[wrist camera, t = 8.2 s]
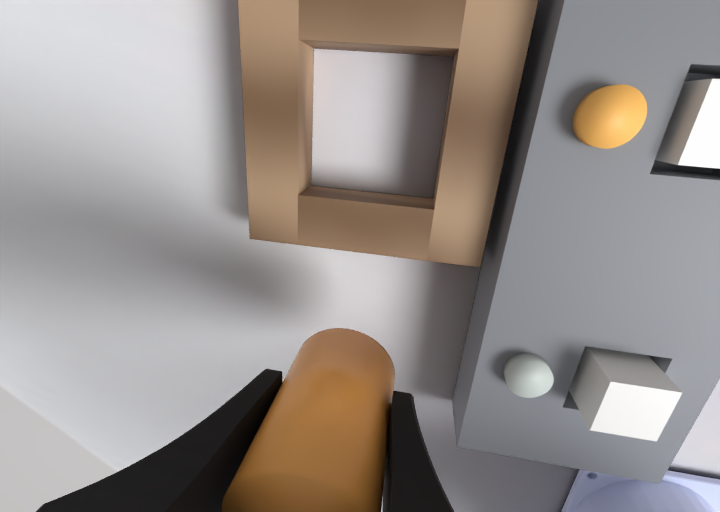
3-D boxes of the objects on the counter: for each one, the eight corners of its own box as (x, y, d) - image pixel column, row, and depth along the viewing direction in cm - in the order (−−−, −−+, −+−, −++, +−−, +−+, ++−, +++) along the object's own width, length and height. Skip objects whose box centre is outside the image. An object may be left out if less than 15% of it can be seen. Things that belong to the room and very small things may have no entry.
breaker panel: (624, 430, 19) (667, 496, 16) (452, 401, 20) (458, 458, 17) (847, -37, 11) (1020, -96, 8) (549, -44, 12) (595, -100, 9)
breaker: (623, 394, 16) (656, 441, 14) (566, 385, 16) (589, 430, 14) (643, 350, 15) (682, 392, 13) (582, 341, 15) (610, 381, 13)
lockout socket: (473, 250, 17) (480, 267, 15) (267, 225, 18) (249, 238, 16) (527, -10, 13) (544, -30, 11) (260, -20, 14) (235, -39, 12)
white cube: (704, 161, 13) (764, 172, 11) (633, 155, 13) (678, 165, 11) (735, 89, 12) (808, 84, 10) (658, 84, 13) (712, 78, 10)
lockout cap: (389, 417, 15) (370, 594, 10) (296, 400, 16) (227, 560, 10) (400, 336, 14) (384, 492, 8) (296, 321, 14) (215, 457, 8)
